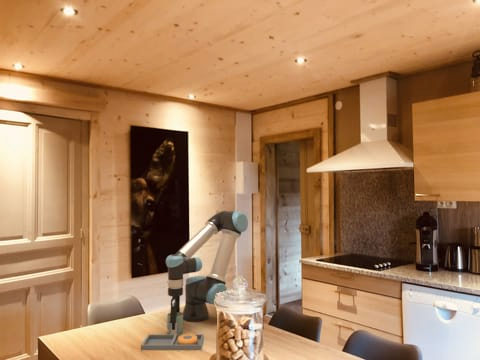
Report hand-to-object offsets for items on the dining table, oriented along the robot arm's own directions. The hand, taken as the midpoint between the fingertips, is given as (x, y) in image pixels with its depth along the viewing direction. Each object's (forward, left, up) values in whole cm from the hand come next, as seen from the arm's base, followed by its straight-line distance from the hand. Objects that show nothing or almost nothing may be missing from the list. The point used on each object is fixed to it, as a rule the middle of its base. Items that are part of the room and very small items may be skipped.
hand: (175, 332), depth 195 cm
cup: (0, 0, -1) cm, 1 cm away
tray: (+8, +12, -1) cm, 14 cm away
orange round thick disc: (+3, +16, 0) cm, 16 cm away
